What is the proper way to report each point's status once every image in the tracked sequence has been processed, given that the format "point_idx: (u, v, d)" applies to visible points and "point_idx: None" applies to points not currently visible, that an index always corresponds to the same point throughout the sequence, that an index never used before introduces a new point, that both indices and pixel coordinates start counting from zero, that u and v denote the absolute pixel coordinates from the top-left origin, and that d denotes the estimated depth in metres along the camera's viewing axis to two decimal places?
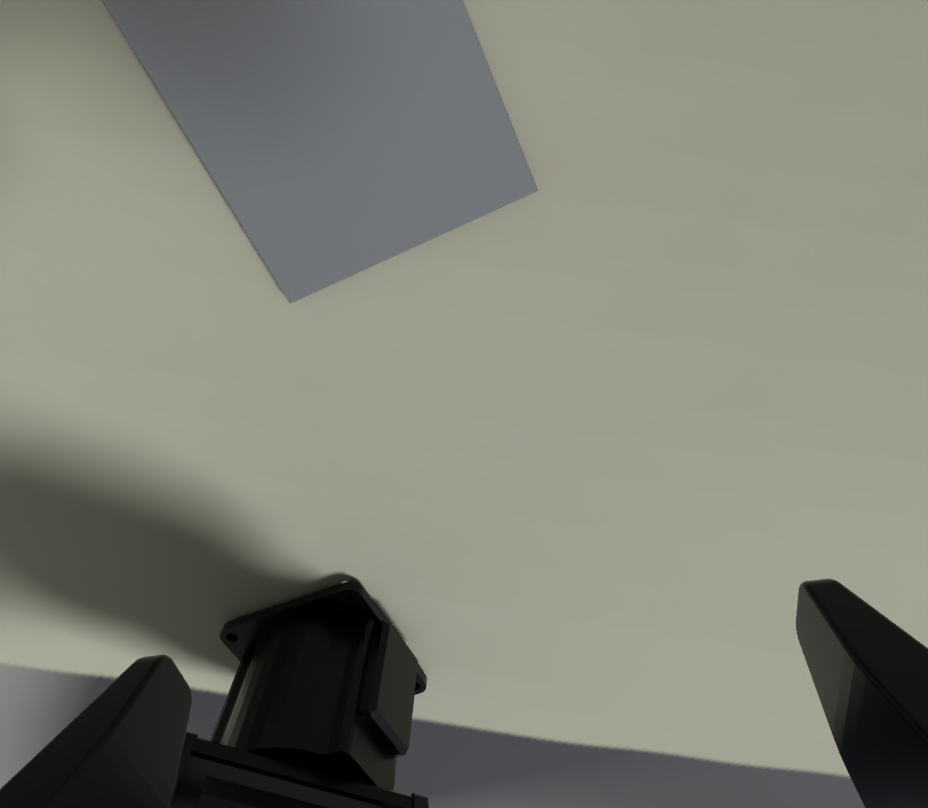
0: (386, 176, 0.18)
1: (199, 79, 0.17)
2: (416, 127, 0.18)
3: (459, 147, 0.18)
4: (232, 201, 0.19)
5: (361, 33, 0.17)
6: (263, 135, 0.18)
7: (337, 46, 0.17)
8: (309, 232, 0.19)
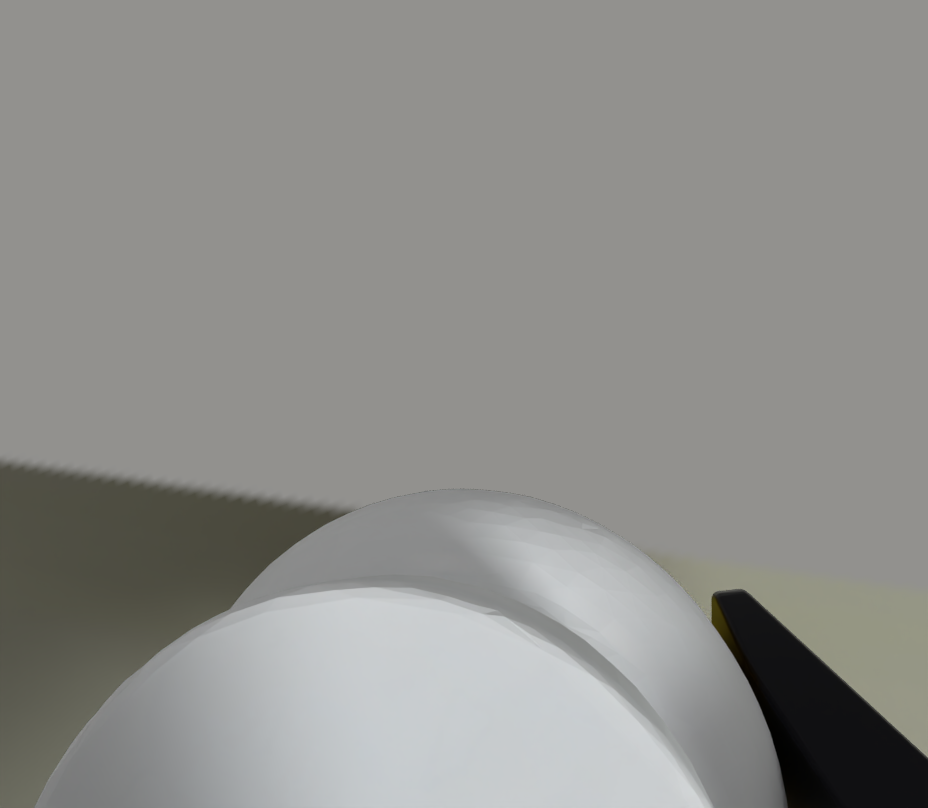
0: None
1: None
2: None
3: None
4: None
5: None
6: None
7: None
8: None
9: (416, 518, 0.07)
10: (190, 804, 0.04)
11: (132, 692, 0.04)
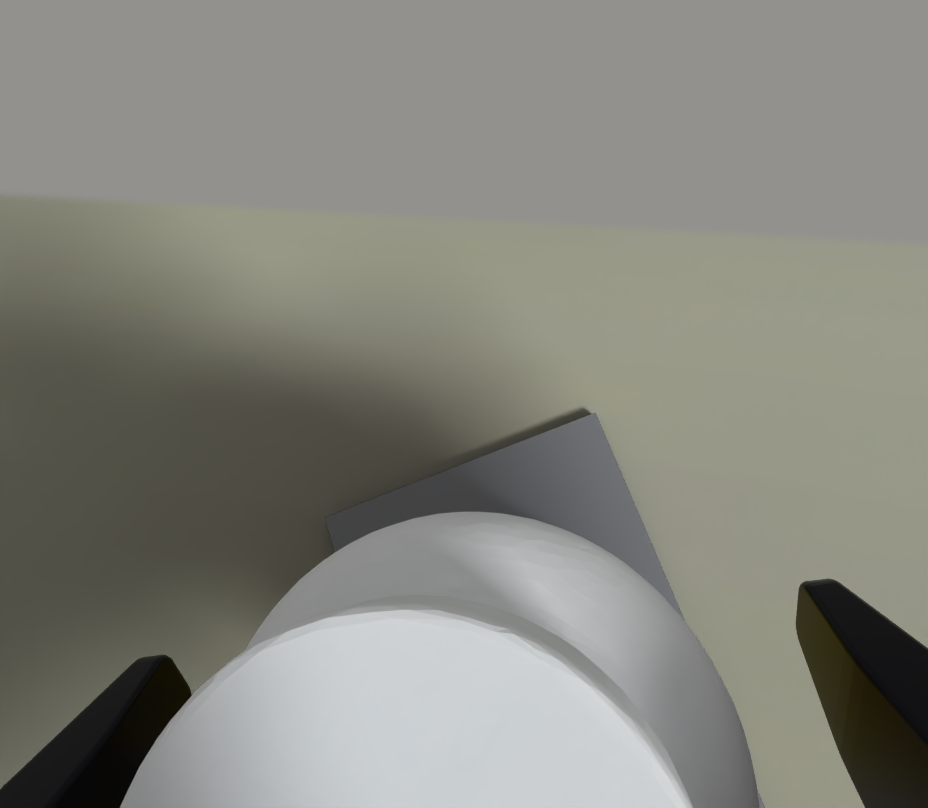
0: None
1: None
2: None
3: None
4: None
5: None
6: None
7: None
8: None
9: (433, 540, 0.08)
10: (258, 787, 0.05)
11: (207, 695, 0.05)
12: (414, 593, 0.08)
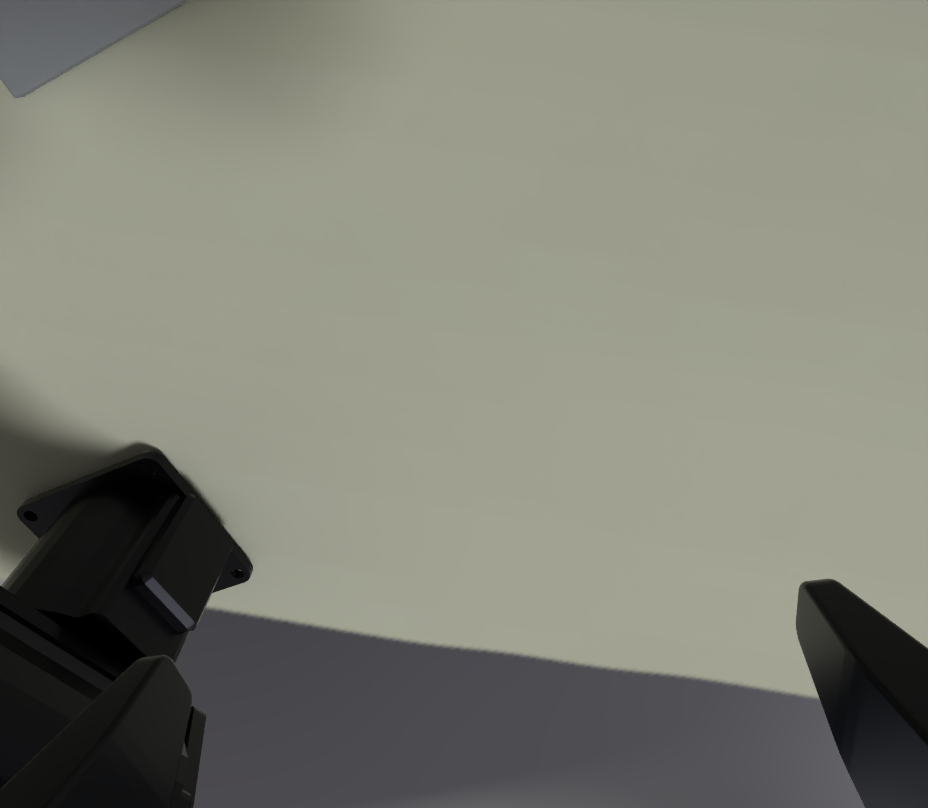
0: None
1: None
2: None
3: None
4: None
5: None
6: None
7: None
8: (19, 3, 0.17)
9: None
10: None
11: None
12: None
